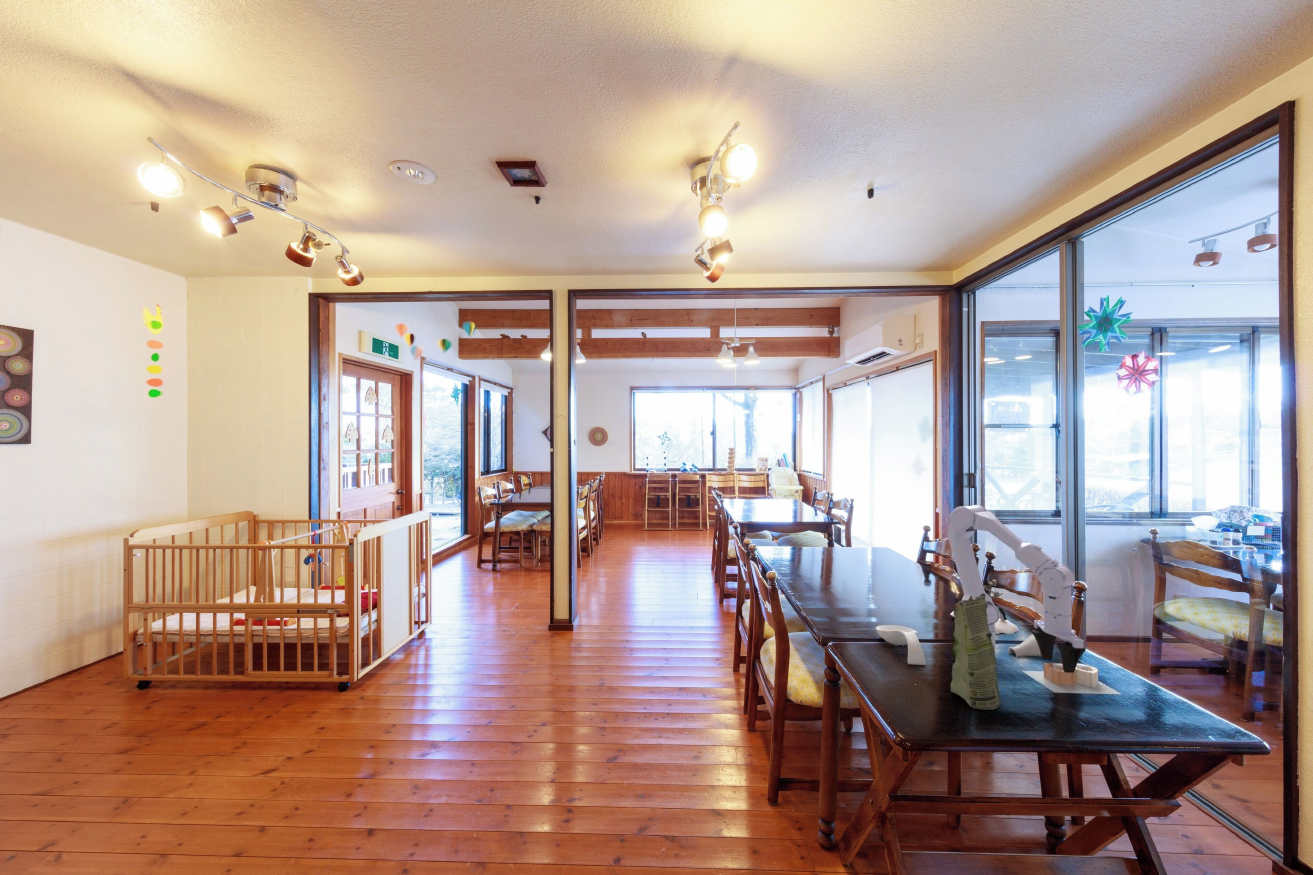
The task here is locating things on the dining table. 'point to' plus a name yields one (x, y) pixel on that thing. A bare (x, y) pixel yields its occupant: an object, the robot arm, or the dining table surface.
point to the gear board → (1076, 688)
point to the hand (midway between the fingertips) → (1057, 665)
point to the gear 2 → (1086, 676)
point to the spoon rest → (904, 641)
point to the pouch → (974, 655)
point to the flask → (1026, 648)
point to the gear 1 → (1058, 675)
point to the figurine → (1002, 623)
